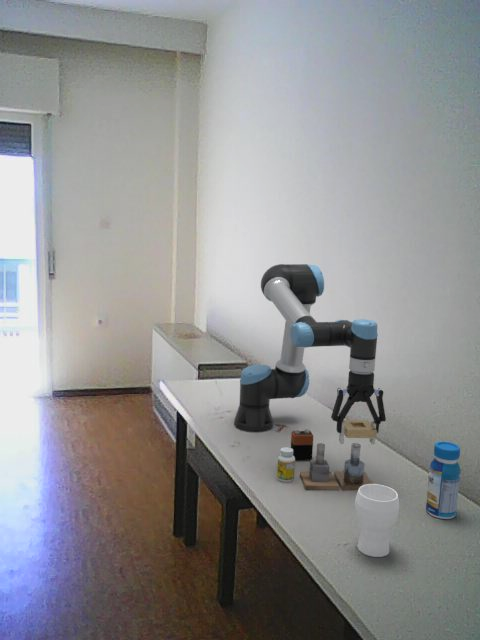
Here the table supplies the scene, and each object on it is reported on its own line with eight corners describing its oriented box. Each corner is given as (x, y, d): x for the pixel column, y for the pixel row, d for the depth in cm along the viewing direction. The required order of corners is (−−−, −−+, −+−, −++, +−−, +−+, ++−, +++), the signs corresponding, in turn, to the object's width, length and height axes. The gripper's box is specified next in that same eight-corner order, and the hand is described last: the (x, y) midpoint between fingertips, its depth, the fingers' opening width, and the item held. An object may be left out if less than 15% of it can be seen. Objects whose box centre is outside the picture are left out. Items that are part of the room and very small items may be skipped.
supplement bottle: (297, 481, 184) (298, 451, 183) (281, 483, 182) (283, 454, 180) (288, 474, 189) (290, 445, 187) (273, 476, 187) (275, 447, 185)
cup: (346, 537, 152) (350, 482, 150) (387, 537, 153) (391, 482, 151) (358, 561, 142) (363, 502, 139) (401, 560, 143) (406, 502, 140)
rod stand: (299, 475, 188) (301, 438, 186) (330, 475, 189) (333, 438, 187) (305, 490, 178) (307, 450, 176) (338, 490, 179) (341, 451, 177)
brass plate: (339, 427, 185) (339, 419, 185) (367, 427, 186) (368, 420, 186) (346, 437, 177) (347, 429, 176) (376, 438, 177) (376, 430, 177)
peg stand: (333, 476, 189) (336, 438, 187) (364, 476, 190) (367, 438, 188) (341, 490, 179) (344, 451, 177) (373, 490, 180) (377, 451, 178)
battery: (312, 460, 200) (314, 432, 198) (292, 461, 199) (294, 432, 198) (309, 455, 204) (310, 428, 203) (289, 456, 204) (291, 428, 202)
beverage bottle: (452, 523, 162) (460, 454, 158) (421, 514, 166) (428, 446, 163) (459, 511, 169) (466, 444, 165) (429, 502, 173) (435, 437, 170)
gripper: (328, 374, 174) (324, 447, 177) (401, 375, 175) (395, 447, 179) (323, 367, 181) (319, 438, 185) (392, 368, 183) (387, 438, 186)
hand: (356, 442), depth 182 cm, fingers closed on brass plate, 9 cm apart
